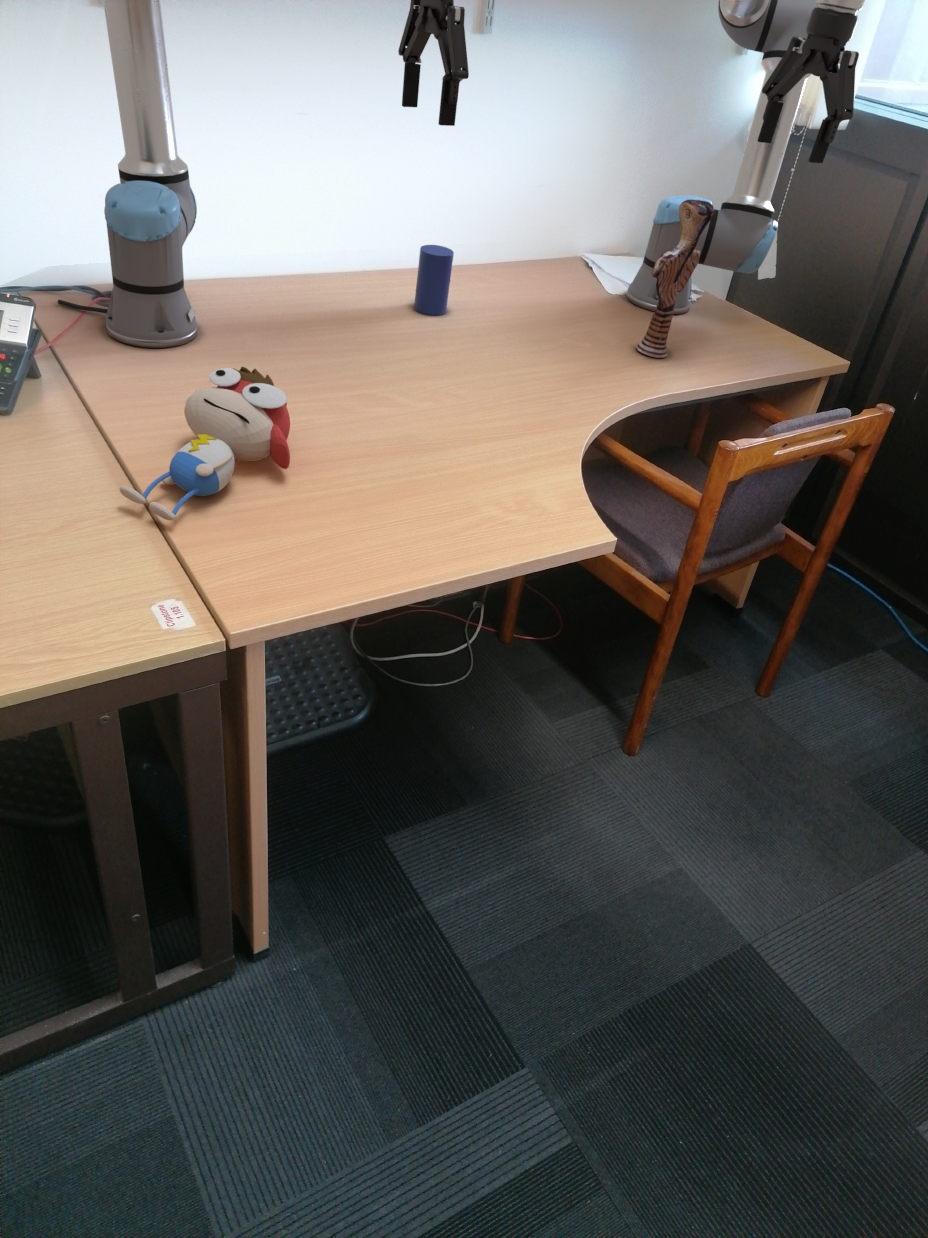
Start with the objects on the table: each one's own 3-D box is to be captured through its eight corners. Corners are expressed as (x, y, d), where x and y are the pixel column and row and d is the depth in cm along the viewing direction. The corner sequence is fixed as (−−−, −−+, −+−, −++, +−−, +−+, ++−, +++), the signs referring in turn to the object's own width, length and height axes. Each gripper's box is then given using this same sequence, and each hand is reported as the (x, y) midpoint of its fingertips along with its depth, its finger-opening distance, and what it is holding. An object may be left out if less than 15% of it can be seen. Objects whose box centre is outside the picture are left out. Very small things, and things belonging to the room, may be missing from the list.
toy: (74, 438, 111) (231, 346, 131) (86, 500, 119) (233, 404, 138) (190, 502, 107) (335, 397, 127) (195, 561, 114) (330, 454, 134)
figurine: (653, 337, 192) (695, 188, 173) (684, 349, 189) (731, 199, 170) (621, 353, 182) (662, 197, 163) (654, 366, 179) (700, 209, 160)
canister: (412, 312, 183) (418, 252, 176) (415, 301, 189) (422, 242, 181) (444, 317, 184) (452, 257, 176) (447, 306, 189) (454, 247, 181)
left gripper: (502, -25, 133) (482, 133, 146) (424, -44, 149) (413, 100, 162) (459, -30, 129) (443, 132, 143) (384, -49, 145) (376, 98, 159)
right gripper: (769, -5, 152) (728, 133, 165) (877, 19, 135) (822, 170, 148) (801, 0, 155) (759, 135, 168) (910, 24, 138) (854, 171, 152)
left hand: (427, 115), depth 152 cm, fingers open, 13 cm apart
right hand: (788, 151), depth 158 cm, fingers open, 13 cm apart
